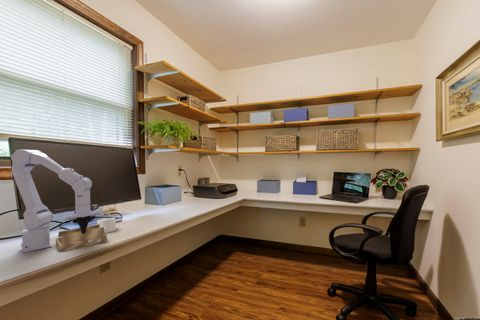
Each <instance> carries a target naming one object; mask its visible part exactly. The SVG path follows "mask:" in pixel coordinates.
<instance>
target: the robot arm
mask: <svg viewBox="0 0 480 320" xmlns="http://www.w3.org/2000/svg"><path fill="white" fill-rule="evenodd" d="M10 159H11V174H12V176H13V179H14V181H15V184H16V186H17V188H18V192H19V193H20V197H21V199H22V201H23V204H24V206H25V210H24V213H23V218H24V220H23V224H24V225H23V226H24V227H25V228H27V229H22V231H21V232H22V233H21V235H22V236H21V237H22V239H21V241H22V242H21V244H20V245H21V248H22V253H27V252H32V251H37V250H43V249H47V248H51V247H52V242H51V234H50V233H51V231H50V228H51V227H50V225H51V222H52V221H53V219H54V214H53V212H52V211H50V209H49V208H48V206H46V205H44V203H43V202H42V200H41V197H40V195H39V193H38V190H37V187H36V184H35V182H34V179H33V177H32V174H31V171H32V170H33V169H34V167H36V166H37V165H41V166H43V167H45V168H46V169H49V170H50V171H51V172H52V171H53V172H54V173H56V174H57V175H58V179H60V180H62V181H63V182H65V183H66V184H68V185H70V186H71V188H72V190H73V191H74V198H75V199H74V200H75V202H74V204H75V205H74V206H75V213H72V214H67V215H64V216H63V219H62V220H63V222H66V221H72V220H75V221H76V222H77V224H78V228H80V229H81V231H82V234H84V233H86V229H87V226H89V223H90V221H91V219H92V218H91V217H94V216H102V210H101V209H100V210H91V188H92V186H93V181H92V179H90V178H89V177H86V176H85V177H84V176H83V174H79V173H78V172H77V171H75V169H74V168H70V167H66V168H65V167H63V166H62V165H61V164H59V163H57V162H56V161H55V160H53V158H51V157H49V156H48V155H47V154H46V153H44V152H42V151H41V150H38V149H23V148H20V149H17V150H15V151H14V152H13V153H12V155H11V156H10Z"/></svg>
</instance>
